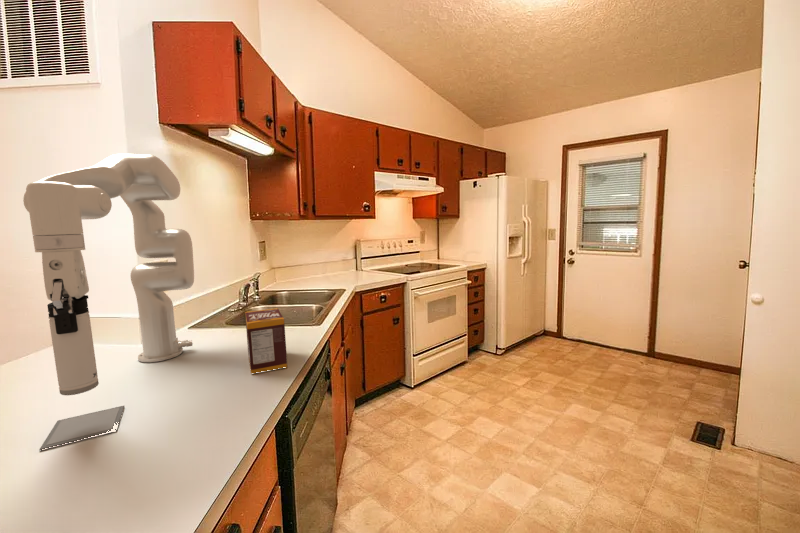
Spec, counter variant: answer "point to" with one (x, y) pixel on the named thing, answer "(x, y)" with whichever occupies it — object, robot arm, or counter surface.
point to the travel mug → (75, 352)
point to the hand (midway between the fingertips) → (72, 327)
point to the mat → (82, 426)
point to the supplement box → (266, 340)
